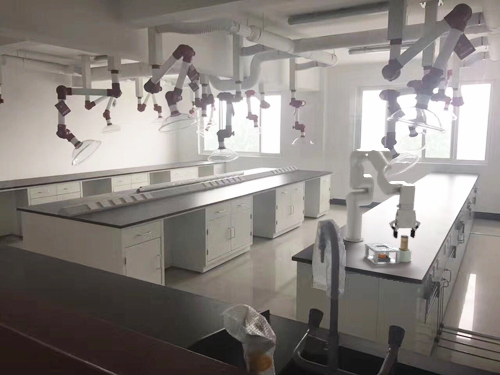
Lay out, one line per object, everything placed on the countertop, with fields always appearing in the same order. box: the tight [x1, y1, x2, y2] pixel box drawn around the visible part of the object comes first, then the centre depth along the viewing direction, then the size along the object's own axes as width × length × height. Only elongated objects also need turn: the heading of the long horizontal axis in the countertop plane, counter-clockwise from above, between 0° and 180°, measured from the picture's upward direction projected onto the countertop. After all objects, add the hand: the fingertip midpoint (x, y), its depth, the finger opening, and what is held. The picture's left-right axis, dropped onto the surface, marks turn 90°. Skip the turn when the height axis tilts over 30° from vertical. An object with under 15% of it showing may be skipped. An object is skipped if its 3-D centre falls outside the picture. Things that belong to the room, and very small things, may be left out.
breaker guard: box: [364, 242, 401, 265], centre depth 218 cm, size 14×14×7 cm
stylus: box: [399, 234, 409, 251], centre depth 217 cm, size 4×4×13 cm
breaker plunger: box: [378, 253, 386, 258], centre depth 219 cm, size 5×5×3 cm
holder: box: [397, 247, 413, 263], centre depth 218 cm, size 7×7×6 cm
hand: (403, 237), depth 217 cm, fingers open, 9 cm apart
